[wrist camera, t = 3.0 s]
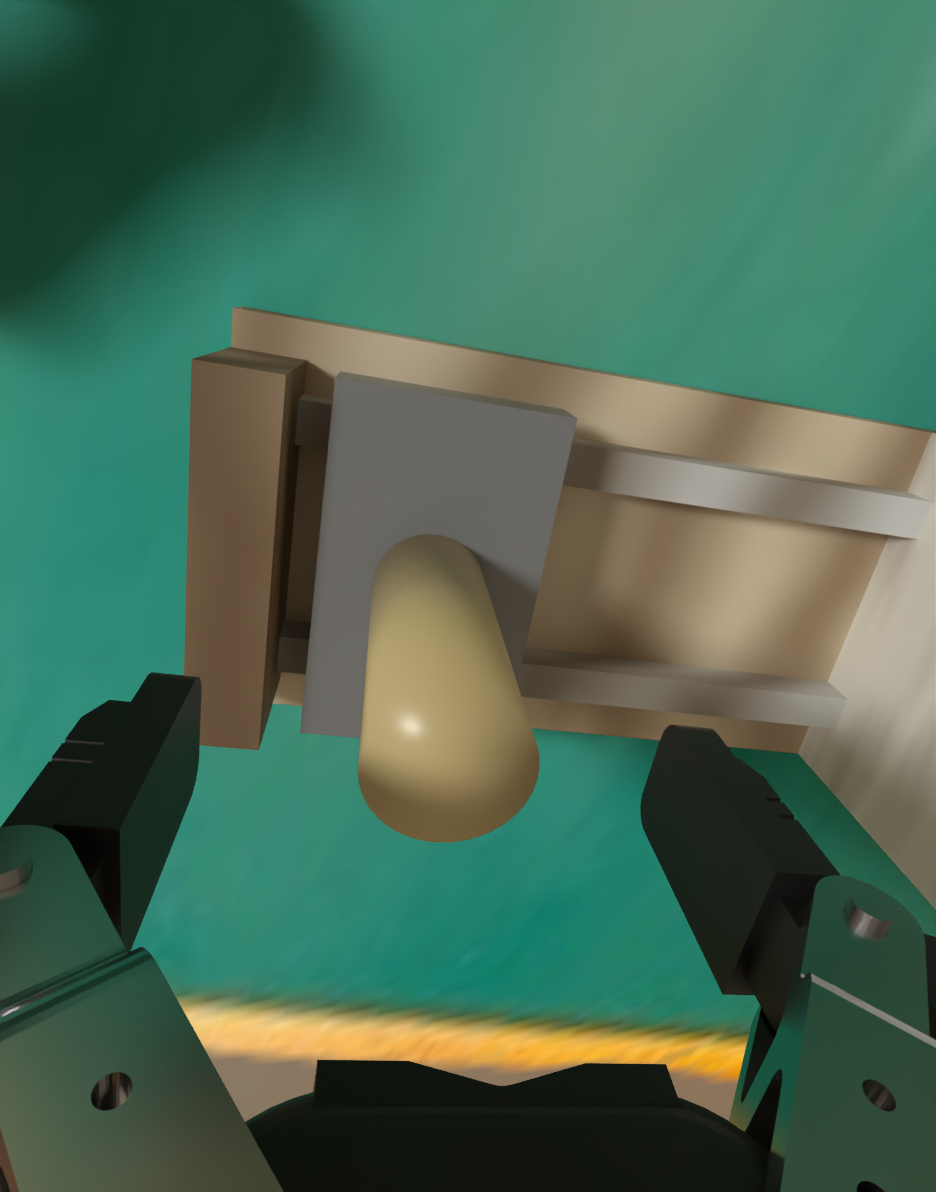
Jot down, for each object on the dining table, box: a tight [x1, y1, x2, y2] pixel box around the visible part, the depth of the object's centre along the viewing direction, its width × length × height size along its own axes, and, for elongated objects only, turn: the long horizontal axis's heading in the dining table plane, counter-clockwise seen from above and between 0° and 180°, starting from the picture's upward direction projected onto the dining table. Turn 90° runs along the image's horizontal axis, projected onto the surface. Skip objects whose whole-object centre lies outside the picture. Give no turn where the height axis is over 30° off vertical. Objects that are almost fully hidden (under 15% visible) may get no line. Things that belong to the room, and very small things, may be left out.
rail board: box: [184, 307, 936, 909], centre depth 19 cm, size 28×12×10 cm, turn 80°
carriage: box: [300, 371, 578, 842], centre depth 16 cm, size 6×10×10 cm, turn 170°
